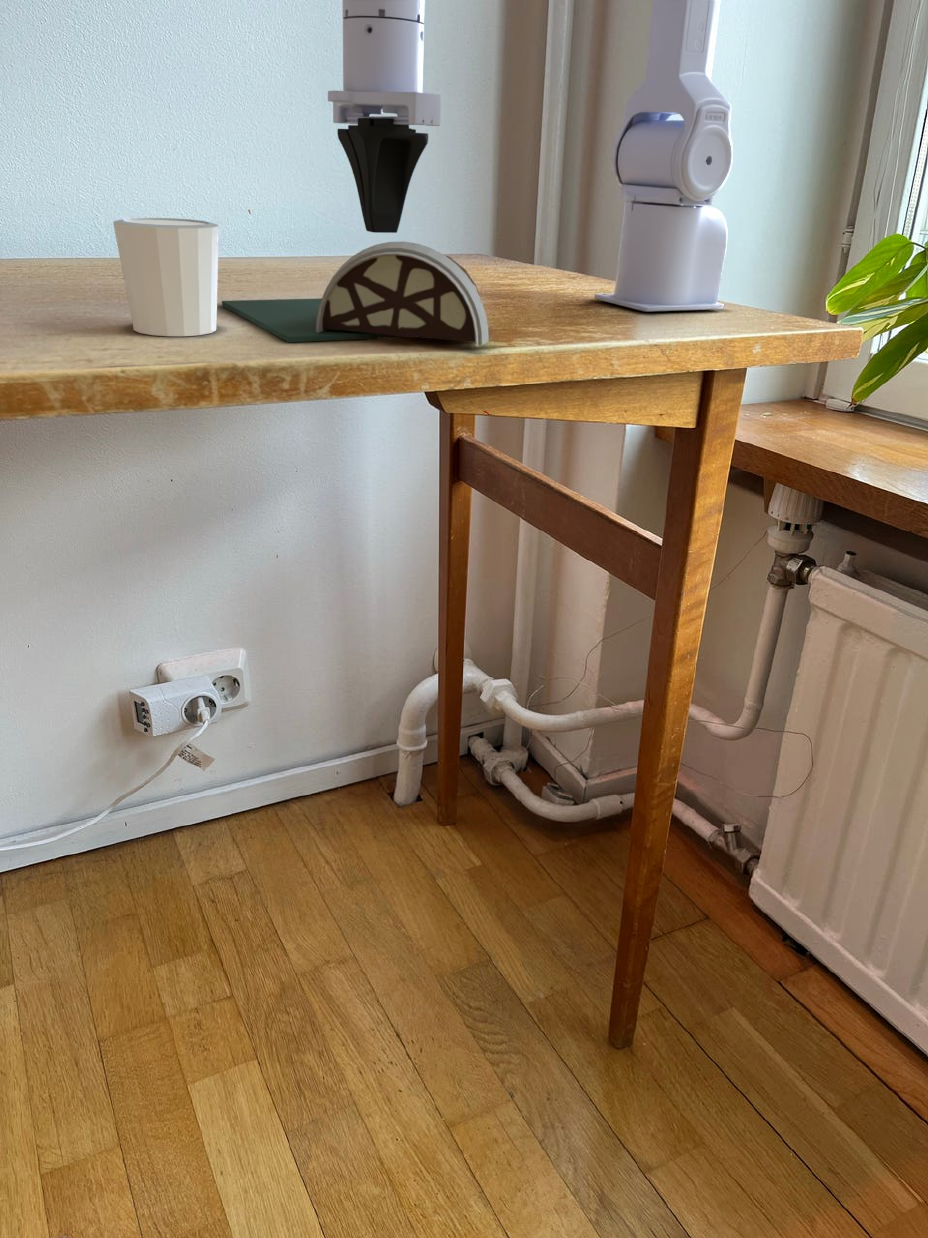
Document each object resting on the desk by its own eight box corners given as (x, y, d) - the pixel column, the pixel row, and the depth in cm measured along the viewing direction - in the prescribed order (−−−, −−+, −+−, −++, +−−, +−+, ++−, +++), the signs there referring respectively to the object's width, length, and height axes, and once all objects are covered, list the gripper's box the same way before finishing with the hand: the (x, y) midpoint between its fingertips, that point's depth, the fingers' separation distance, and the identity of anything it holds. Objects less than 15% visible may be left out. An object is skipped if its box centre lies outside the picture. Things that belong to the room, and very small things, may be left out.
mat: (358, 302, 82) (358, 297, 82) (444, 335, 70) (444, 329, 69) (221, 305, 77) (221, 300, 76) (288, 342, 64) (288, 336, 64)
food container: (508, 238, 70) (490, 250, 62) (502, 324, 73) (484, 347, 64) (347, 227, 72) (307, 237, 63) (347, 311, 75) (309, 332, 66)
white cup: (133, 339, 62) (122, 225, 59) (115, 321, 68) (104, 216, 65) (236, 335, 65) (231, 226, 62) (212, 319, 71) (205, 217, 68)
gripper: (293, 24, 70) (299, 222, 76) (373, 6, 59) (372, 241, 65) (380, 33, 73) (379, 223, 79) (472, 19, 62) (462, 241, 68)
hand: (381, 231), depth 72 cm, fingers closed
